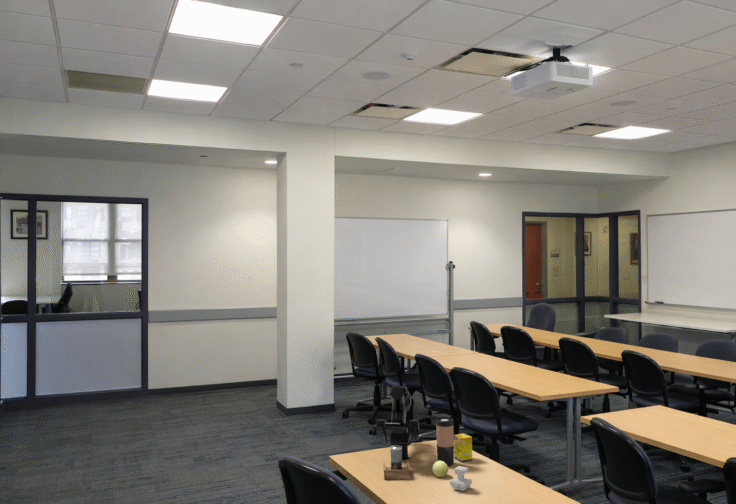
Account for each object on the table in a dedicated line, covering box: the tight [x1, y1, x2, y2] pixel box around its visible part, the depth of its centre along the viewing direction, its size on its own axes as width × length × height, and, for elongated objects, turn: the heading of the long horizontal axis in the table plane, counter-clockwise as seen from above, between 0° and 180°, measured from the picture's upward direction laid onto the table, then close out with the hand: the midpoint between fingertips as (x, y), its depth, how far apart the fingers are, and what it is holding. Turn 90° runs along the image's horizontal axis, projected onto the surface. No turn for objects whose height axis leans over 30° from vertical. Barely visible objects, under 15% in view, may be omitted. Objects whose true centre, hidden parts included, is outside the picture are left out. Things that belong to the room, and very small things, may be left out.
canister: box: [389, 445, 403, 470], centre depth 253 cm, size 5×5×10 cm
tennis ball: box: [431, 460, 449, 478], centre depth 250 cm, size 6×7×7 cm
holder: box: [382, 460, 412, 481], centre depth 253 cm, size 11×11×4 cm
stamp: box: [449, 465, 473, 492], centre depth 235 cm, size 9×7×8 cm
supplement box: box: [454, 433, 473, 463], centre depth 270 cm, size 6×6×11 cm
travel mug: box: [435, 416, 455, 468], centre depth 264 cm, size 8×8×20 cm
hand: (396, 443), depth 256 cm, fingers open, 9 cm apart
